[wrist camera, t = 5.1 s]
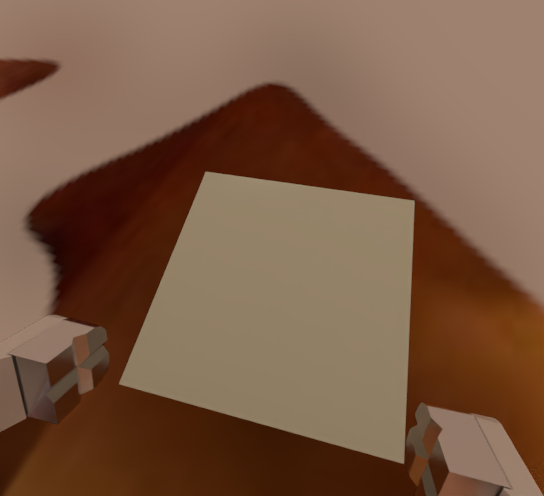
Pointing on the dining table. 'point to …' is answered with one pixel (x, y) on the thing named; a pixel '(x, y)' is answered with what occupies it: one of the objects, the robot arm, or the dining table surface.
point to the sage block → (287, 312)
